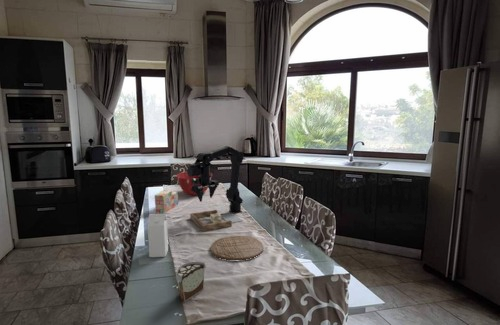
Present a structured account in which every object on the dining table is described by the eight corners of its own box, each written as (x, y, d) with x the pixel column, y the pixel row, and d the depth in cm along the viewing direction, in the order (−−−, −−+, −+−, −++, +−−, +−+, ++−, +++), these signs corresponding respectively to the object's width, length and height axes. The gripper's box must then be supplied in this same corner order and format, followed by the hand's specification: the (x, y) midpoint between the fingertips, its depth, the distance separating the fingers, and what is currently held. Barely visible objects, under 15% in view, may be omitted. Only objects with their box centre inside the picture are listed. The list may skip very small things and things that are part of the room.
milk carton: (152, 250, 146) (150, 211, 143) (168, 250, 147) (166, 211, 144) (149, 257, 139) (147, 217, 136) (165, 257, 140) (163, 216, 137)
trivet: (270, 257, 140) (271, 253, 139) (215, 265, 133) (215, 261, 132) (254, 236, 163) (254, 233, 163) (206, 242, 156) (206, 238, 156)
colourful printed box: (170, 203, 222) (169, 187, 220) (178, 204, 221) (177, 187, 219) (155, 213, 202) (154, 194, 200) (164, 213, 200) (163, 195, 198)
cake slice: (194, 282, 119) (193, 258, 117) (206, 287, 115) (205, 262, 114) (169, 298, 109) (167, 271, 107) (181, 304, 105) (180, 276, 104)
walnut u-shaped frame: (216, 214, 199) (216, 209, 198) (231, 226, 178) (231, 221, 177) (190, 218, 191) (190, 213, 191) (203, 231, 170) (203, 226, 170)
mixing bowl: (210, 197, 237) (209, 178, 235) (172, 197, 238) (172, 178, 235) (214, 188, 265) (214, 171, 263) (181, 188, 266) (180, 171, 263)
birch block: (218, 219, 189) (218, 213, 189) (221, 221, 185) (221, 215, 184) (210, 220, 187) (210, 214, 187) (213, 223, 183) (213, 216, 182)
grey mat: (232, 213, 199) (232, 213, 199) (243, 220, 186) (243, 220, 186) (219, 216, 195) (219, 215, 195) (229, 223, 182) (229, 222, 182)
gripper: (205, 170, 196) (206, 194, 199) (183, 175, 181) (185, 201, 183) (218, 171, 190) (219, 196, 192) (197, 177, 174) (199, 204, 177)
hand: (206, 199), depth 186 cm, fingers open, 9 cm apart
